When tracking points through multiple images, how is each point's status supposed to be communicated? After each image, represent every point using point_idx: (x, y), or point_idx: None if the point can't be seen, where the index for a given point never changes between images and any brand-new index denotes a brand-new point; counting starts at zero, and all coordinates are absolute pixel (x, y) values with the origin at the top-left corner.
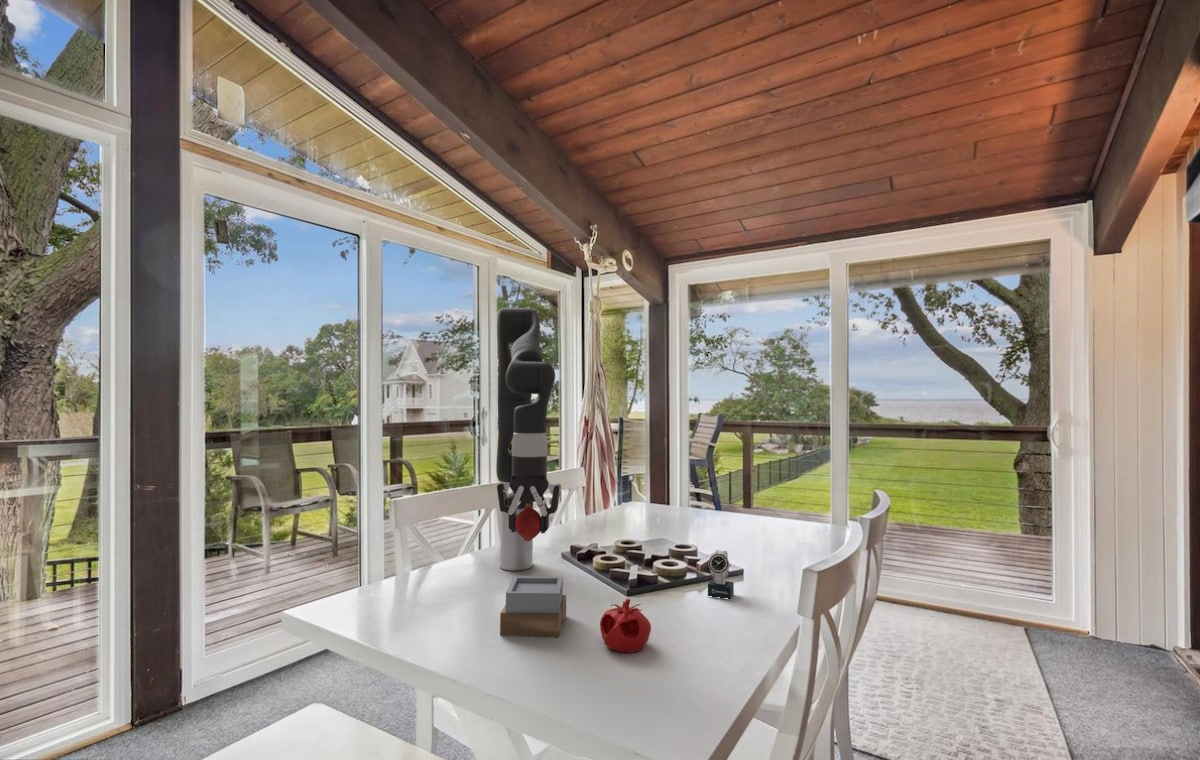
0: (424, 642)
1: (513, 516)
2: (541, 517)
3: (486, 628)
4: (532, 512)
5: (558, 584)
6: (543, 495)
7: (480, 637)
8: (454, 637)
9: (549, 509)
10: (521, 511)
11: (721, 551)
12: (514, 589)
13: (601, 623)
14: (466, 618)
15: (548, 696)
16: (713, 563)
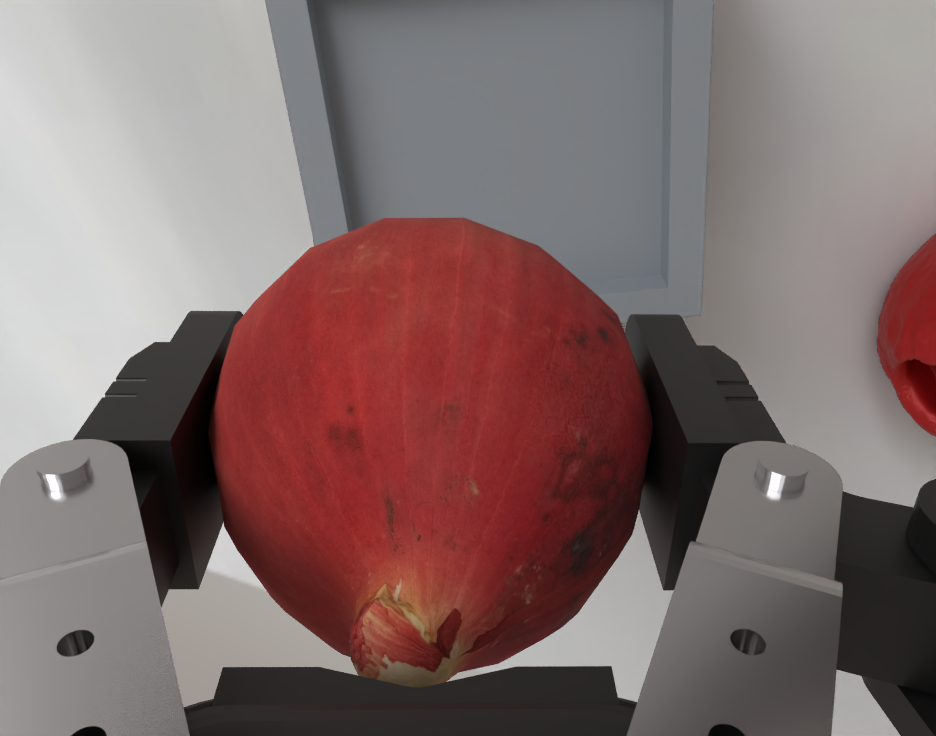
0: (15, 371)
1: (183, 577)
2: (669, 577)
3: (228, 174)
4: (522, 649)
5: (685, 122)
6: (832, 710)
7: (248, 288)
8: (120, 304)
9: (860, 656)
10: (291, 596)
11: None
12: (343, 169)
13: (905, 360)
14: (34, 36)
15: (642, 658)
16: None
